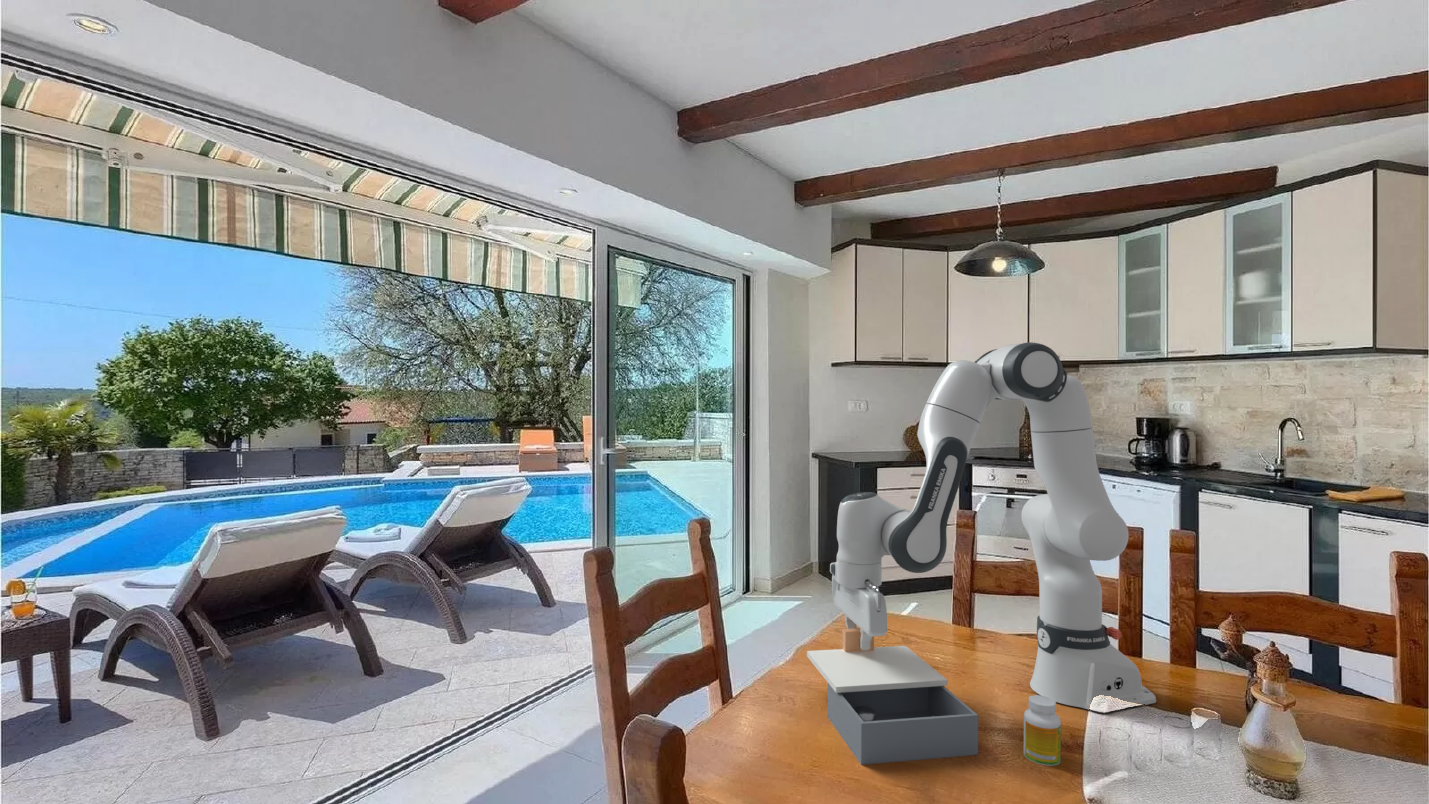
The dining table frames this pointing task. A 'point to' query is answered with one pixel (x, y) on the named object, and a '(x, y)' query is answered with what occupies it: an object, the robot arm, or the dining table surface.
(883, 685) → the lid
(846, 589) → the robot arm
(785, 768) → the dining table surface
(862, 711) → the metal round part
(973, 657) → the dining table surface
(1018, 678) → the dining table surface
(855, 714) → the tub
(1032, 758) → the supplement bottle
